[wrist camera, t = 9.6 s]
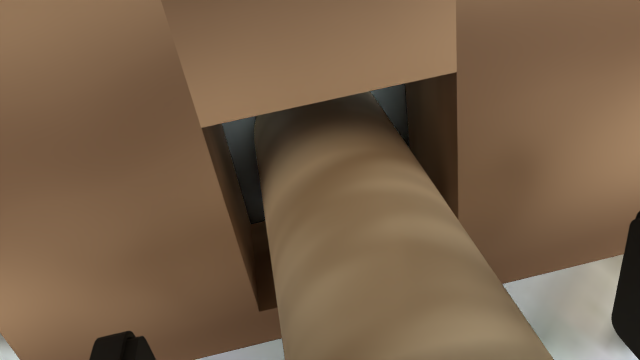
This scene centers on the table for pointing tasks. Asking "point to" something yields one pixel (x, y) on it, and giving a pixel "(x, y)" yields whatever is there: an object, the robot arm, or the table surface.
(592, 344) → the table surface
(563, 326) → the table surface
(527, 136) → the socket block
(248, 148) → the table surface
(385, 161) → the peg
